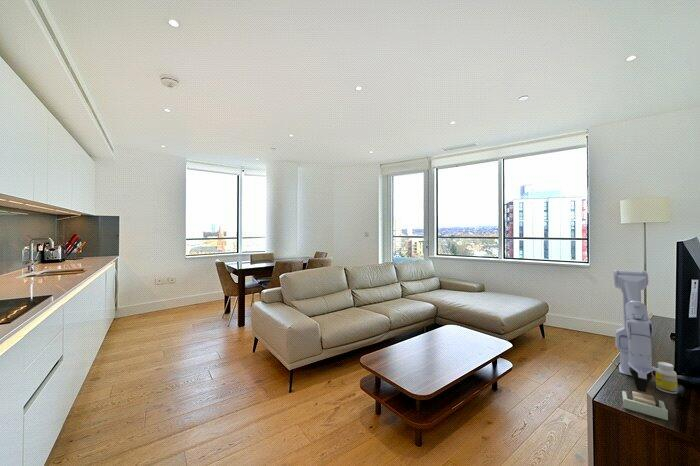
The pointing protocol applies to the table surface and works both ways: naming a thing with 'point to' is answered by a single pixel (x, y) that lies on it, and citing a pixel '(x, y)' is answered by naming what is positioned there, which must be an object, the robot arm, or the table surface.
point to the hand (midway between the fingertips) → (641, 390)
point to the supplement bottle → (666, 378)
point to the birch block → (643, 398)
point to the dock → (645, 407)
